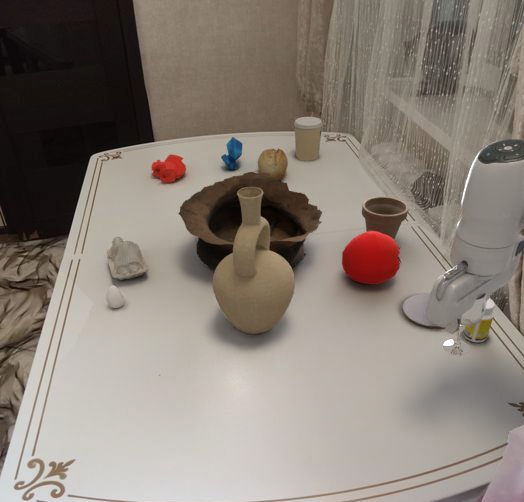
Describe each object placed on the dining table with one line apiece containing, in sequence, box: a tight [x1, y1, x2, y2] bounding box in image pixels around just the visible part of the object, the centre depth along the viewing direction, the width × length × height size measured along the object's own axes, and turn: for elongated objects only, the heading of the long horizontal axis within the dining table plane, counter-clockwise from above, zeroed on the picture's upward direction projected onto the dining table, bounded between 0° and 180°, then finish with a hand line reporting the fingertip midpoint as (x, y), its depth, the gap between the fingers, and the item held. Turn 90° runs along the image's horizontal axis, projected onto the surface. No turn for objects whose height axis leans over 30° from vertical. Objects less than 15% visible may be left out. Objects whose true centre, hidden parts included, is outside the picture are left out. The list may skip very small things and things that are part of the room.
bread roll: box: [257, 148, 289, 181], centre depth 175 cm, size 10×15×8 cm, turn 3°
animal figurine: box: [150, 153, 187, 183], centre depth 178 cm, size 12×15×5 cm
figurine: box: [106, 236, 149, 281], centre depth 132 cm, size 15×11×8 cm
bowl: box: [178, 171, 323, 271], centre depth 136 cm, size 34×33×15 cm
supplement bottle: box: [462, 298, 496, 343], centre depth 110 cm, size 5×5×8 cm
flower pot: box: [361, 196, 410, 240], centre depth 140 cm, size 12×11×10 cm
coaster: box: [401, 293, 445, 330], centre depth 119 cm, size 12×12×1 cm
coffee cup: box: [293, 116, 323, 162], centre depth 185 cm, size 9×9×12 cm
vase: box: [212, 187, 296, 335], centre depth 108 cm, size 17×17×30 cm
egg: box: [105, 284, 126, 309], centre depth 122 cm, size 4×4×6 cm
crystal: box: [220, 136, 243, 171], centre depth 181 cm, size 7×9×12 cm
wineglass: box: [443, 293, 486, 357], centre depth 92 cm, size 6×6×12 cm
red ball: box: [341, 231, 403, 285], centre depth 126 cm, size 13×13×13 cm
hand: (463, 322), depth 92 cm, fingers closed on wineglass, 5 cm apart
